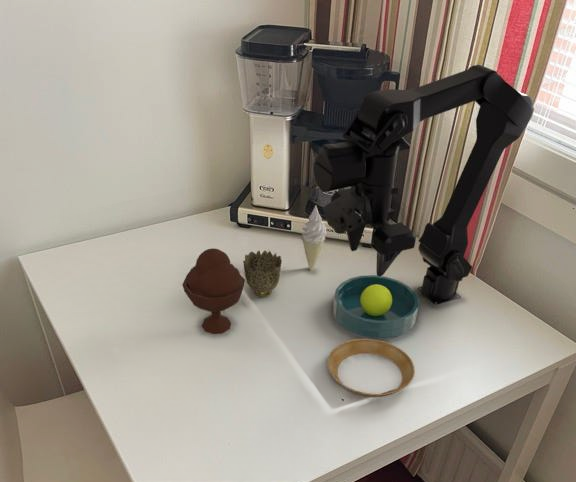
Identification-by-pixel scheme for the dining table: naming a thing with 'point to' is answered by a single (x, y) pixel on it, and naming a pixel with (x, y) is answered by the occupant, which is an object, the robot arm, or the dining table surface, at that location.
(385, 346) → the plant saucer
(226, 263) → the ice cream bowl
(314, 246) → the ice cream cone
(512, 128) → the robot arm
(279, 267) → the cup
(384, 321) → the glazed bowl
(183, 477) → the dining table surface
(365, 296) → the ball
